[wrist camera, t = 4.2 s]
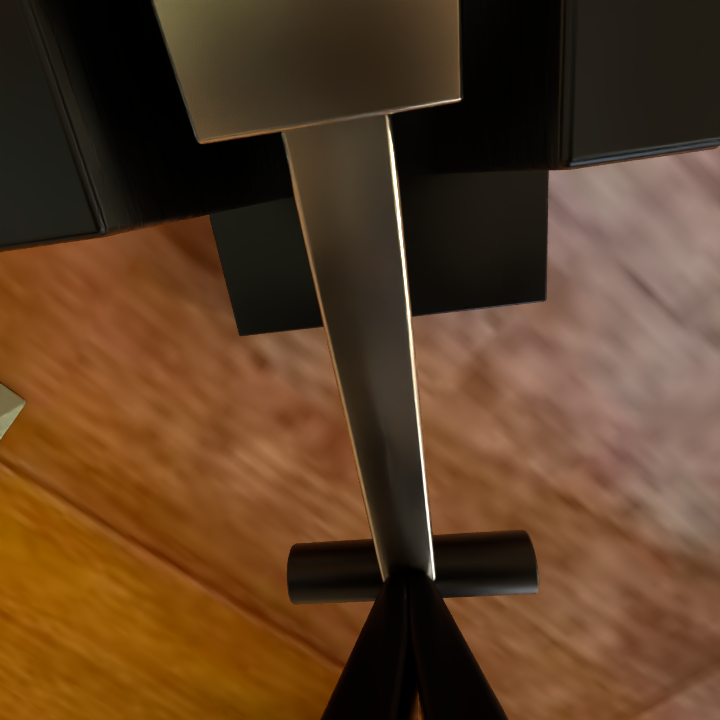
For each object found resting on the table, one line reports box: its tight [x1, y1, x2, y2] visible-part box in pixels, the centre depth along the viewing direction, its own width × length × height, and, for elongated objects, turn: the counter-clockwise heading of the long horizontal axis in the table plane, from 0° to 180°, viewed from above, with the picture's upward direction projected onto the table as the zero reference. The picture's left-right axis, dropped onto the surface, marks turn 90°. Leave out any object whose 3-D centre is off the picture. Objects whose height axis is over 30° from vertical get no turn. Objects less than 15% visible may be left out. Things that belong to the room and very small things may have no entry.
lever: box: [150, 0, 539, 605], centre depth 6 cm, size 12×5×2 cm, turn 8°
